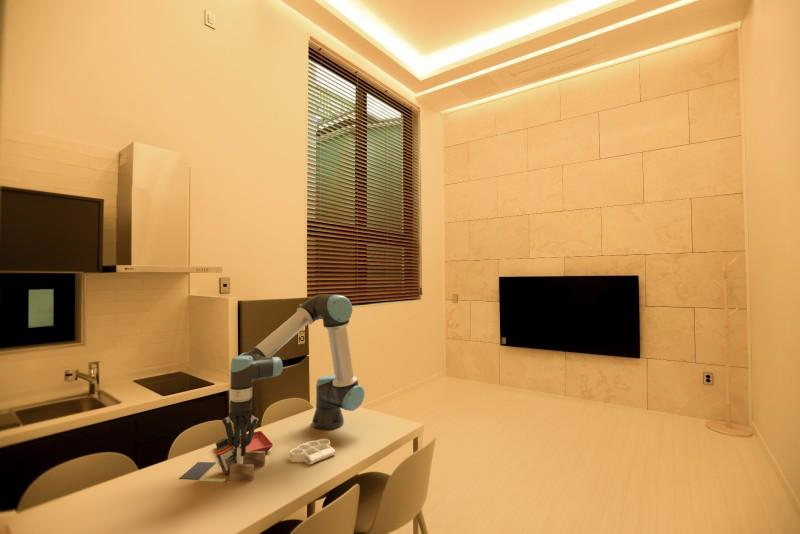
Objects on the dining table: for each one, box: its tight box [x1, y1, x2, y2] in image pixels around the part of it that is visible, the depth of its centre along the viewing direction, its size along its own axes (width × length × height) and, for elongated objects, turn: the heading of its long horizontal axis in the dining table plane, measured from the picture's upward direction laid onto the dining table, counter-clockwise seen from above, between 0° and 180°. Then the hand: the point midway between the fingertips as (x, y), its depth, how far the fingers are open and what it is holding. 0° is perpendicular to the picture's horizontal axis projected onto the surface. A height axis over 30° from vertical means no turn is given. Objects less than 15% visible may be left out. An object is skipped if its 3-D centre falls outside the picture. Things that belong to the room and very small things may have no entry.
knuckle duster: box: [289, 438, 336, 465], centre depth 155 cm, size 3×18×15 cm
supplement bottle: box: [214, 437, 237, 474], centre depth 140 cm, size 6×6×11 cm
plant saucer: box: [226, 430, 274, 453], centre depth 159 cm, size 18×18×3 cm
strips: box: [198, 461, 226, 483], centre depth 141 cm, size 8×14×1 cm, turn 178°
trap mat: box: [178, 461, 217, 480], centre depth 141 cm, size 7×12×1 cm, turn 178°
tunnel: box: [228, 451, 266, 482], centre depth 140 cm, size 8×12×5 cm, turn 178°
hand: (239, 464), depth 140 cm, fingers closed
